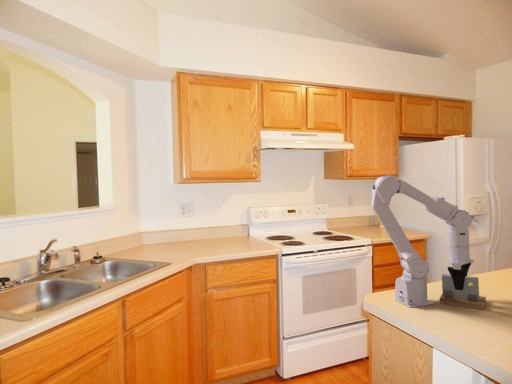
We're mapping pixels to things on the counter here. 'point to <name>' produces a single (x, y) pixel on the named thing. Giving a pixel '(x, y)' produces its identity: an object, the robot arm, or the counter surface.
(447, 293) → the short dark cabinet legs
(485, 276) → the counter surface
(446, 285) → the grey rectangular block
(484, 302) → the cabinet base
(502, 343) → the counter surface
